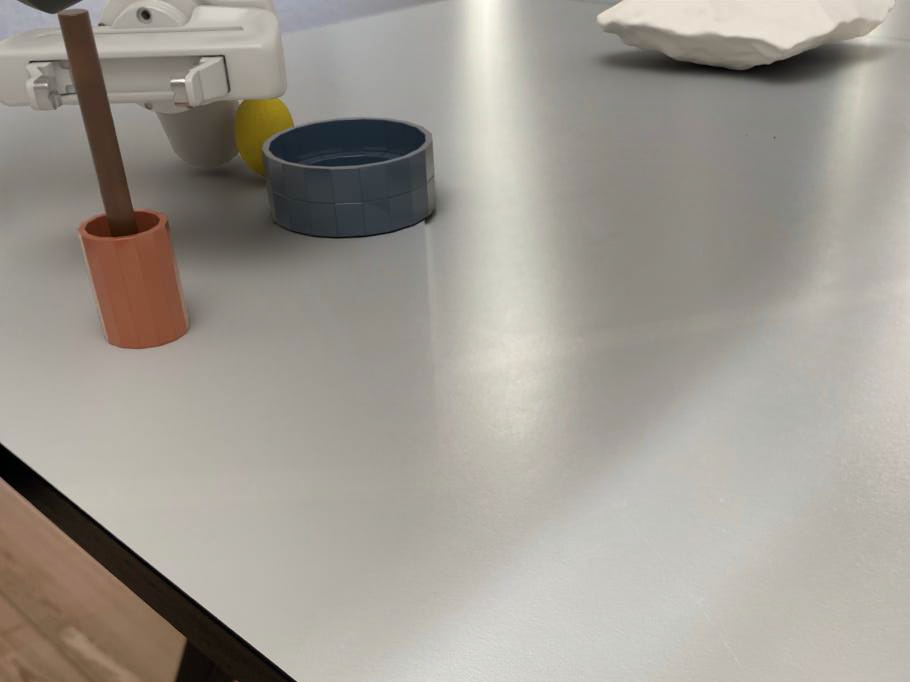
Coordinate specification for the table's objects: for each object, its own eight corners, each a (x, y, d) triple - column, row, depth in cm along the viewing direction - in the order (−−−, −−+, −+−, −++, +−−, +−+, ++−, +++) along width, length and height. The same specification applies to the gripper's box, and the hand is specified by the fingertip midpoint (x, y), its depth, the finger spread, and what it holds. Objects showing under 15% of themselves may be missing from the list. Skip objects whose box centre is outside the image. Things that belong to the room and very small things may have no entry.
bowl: (266, 248, 92) (254, 172, 88) (279, 190, 103) (269, 121, 99) (438, 239, 92) (434, 163, 88) (434, 183, 103) (430, 113, 99)
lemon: (236, 177, 106) (220, 86, 101) (292, 168, 108) (280, 77, 102) (251, 194, 102) (236, 100, 97) (309, 184, 104) (297, 91, 99)
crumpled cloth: (931, 70, 122) (946, -27, 118) (612, 81, 121) (615, -16, 117) (859, 56, 142) (870, -28, 138) (585, 65, 142) (587, -18, 137)
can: (164, 115, 108) (122, 25, 97) (238, 95, 109) (206, 3, 97) (181, 182, 107) (141, 99, 95) (257, 161, 107) (226, 76, 95)
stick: (132, 336, 78) (53, 15, 65) (137, 325, 80) (60, 9, 67) (158, 334, 78) (84, 14, 66) (162, 324, 80) (91, 7, 67)
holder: (99, 357, 77) (68, 242, 72) (115, 321, 82) (87, 210, 76) (184, 353, 77) (159, 237, 72) (195, 317, 82) (173, 206, 77)
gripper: (13, 0, 81) (-64, 46, 70) (292, -9, 80) (257, 36, 70) (38, 94, 85) (-31, 150, 75) (304, 86, 84) (272, 142, 74)
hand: (110, 95), depth 72 cm, fingers open, 8 cm apart
